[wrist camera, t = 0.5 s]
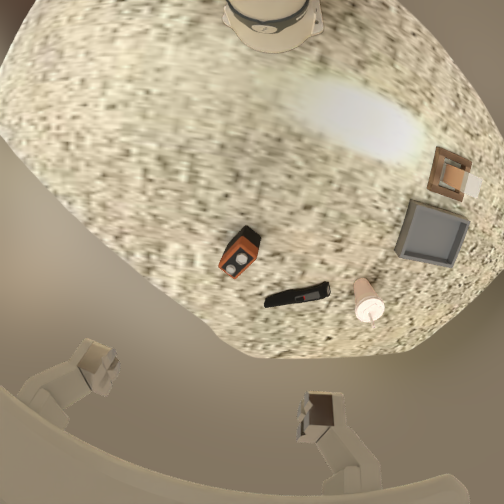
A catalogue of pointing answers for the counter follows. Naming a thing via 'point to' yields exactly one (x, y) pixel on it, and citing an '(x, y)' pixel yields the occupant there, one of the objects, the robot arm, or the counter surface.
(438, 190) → the frame
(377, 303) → the smoothie
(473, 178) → the block
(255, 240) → the battery
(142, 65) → the counter surface
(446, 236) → the tray
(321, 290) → the electric trimmer
